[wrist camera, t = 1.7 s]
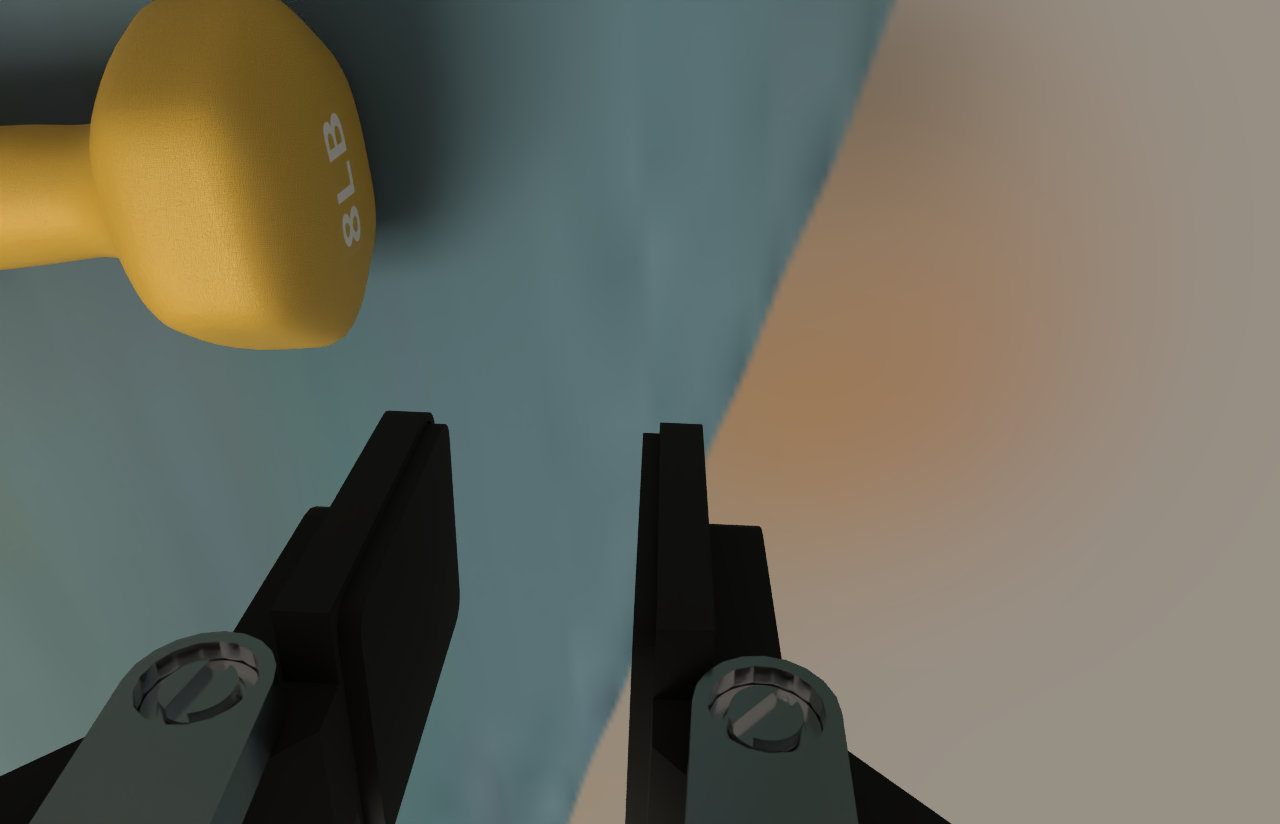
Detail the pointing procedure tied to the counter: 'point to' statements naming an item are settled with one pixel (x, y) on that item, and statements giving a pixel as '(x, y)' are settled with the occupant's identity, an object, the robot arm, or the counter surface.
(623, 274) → the counter surface
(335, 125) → the dumbbell
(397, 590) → the robot arm
